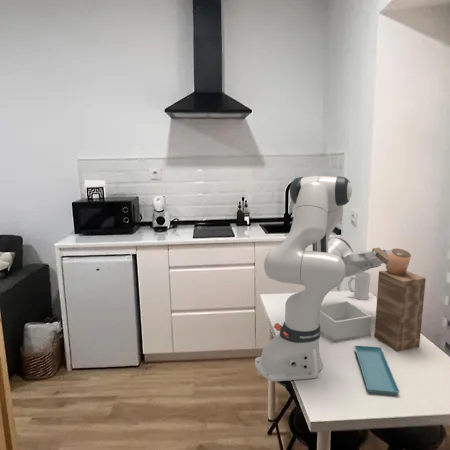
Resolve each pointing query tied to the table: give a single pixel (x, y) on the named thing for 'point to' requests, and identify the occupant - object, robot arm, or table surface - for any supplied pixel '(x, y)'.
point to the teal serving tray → (376, 370)
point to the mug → (360, 285)
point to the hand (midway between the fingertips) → (380, 252)
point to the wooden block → (399, 310)
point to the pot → (394, 260)
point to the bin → (344, 322)
